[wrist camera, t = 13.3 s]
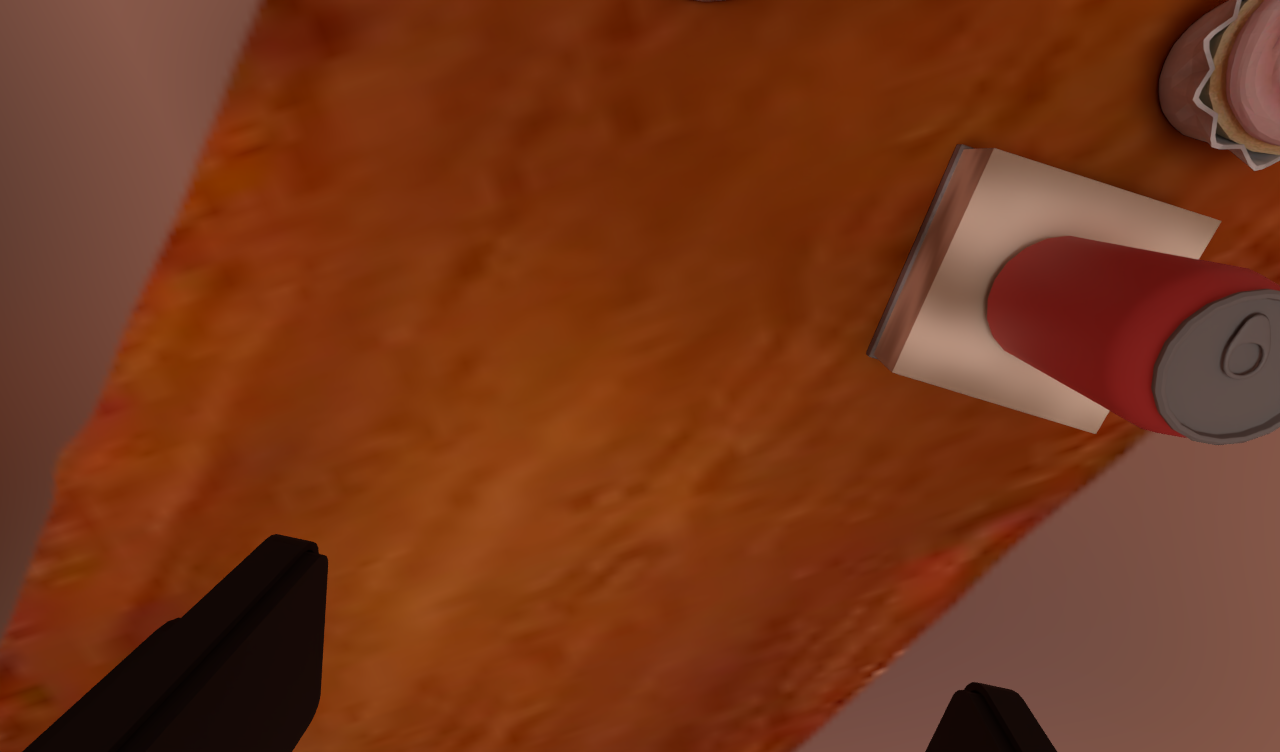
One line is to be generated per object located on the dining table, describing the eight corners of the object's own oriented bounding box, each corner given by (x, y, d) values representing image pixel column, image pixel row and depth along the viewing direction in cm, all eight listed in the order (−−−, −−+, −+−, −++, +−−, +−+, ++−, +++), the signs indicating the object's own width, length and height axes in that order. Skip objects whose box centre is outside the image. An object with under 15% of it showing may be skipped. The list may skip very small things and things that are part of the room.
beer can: (1129, 235, 31) (1386, 277, 20) (1096, 361, 34) (1312, 462, 22) (994, 232, 32) (1172, 271, 20) (970, 357, 34) (1119, 456, 23)
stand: (957, 144, 34) (992, 142, 30) (1167, 212, 35) (1227, 218, 31) (865, 353, 38) (887, 374, 34) (1055, 411, 39) (1097, 438, 35)
